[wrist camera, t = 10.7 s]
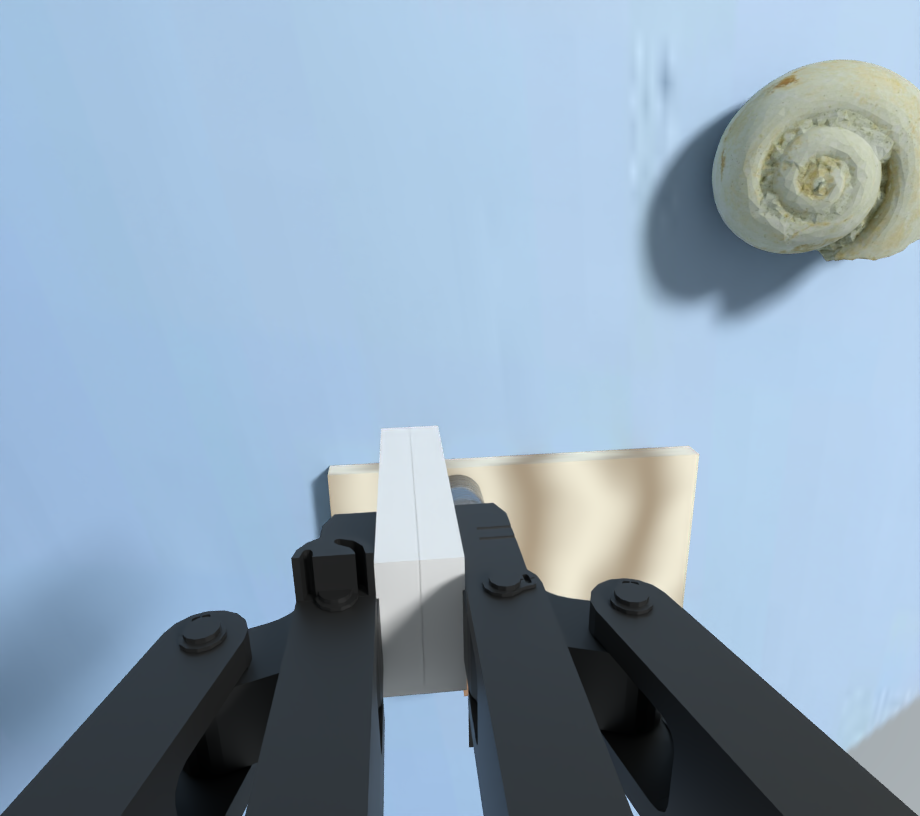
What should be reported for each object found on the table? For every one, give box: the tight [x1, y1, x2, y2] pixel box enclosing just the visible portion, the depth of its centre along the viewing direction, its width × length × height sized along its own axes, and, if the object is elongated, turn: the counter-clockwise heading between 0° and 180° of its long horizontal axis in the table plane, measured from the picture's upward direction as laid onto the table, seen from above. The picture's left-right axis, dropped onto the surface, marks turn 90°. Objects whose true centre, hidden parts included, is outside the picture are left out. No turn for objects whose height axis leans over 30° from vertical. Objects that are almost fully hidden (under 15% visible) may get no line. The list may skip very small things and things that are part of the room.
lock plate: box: [328, 446, 699, 608], centre depth 43 cm, size 24×14×2 cm, turn 91°
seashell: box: [712, 60, 920, 261], centre depth 34 cm, size 13×8×10 cm
